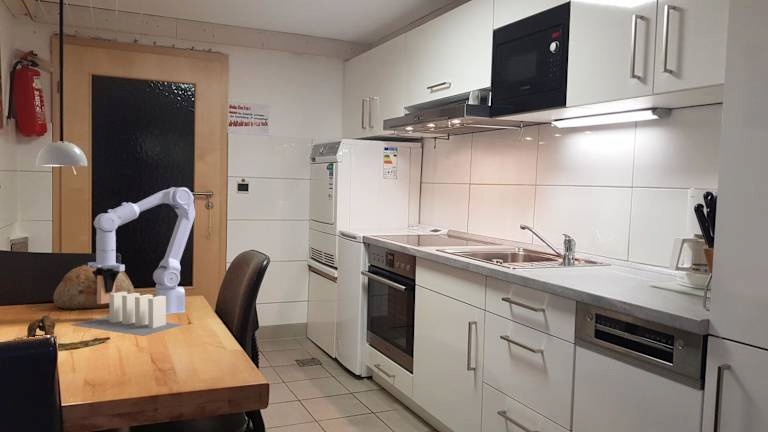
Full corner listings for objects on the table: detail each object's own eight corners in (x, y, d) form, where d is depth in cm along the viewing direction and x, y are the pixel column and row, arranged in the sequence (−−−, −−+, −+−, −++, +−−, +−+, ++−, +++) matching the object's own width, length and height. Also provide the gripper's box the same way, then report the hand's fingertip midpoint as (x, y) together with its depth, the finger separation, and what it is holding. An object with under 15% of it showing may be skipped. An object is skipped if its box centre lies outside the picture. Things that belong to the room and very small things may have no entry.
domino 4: (135, 325, 178) (134, 296, 177) (148, 322, 183) (148, 294, 182) (139, 326, 177) (139, 297, 177) (152, 322, 182) (152, 294, 181)
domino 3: (122, 323, 180) (122, 295, 180) (135, 320, 185) (135, 292, 184) (126, 324, 179) (126, 295, 179) (139, 321, 184) (139, 293, 184)
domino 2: (109, 321, 182) (109, 293, 182) (122, 318, 187) (122, 291, 187) (114, 322, 181) (114, 294, 181) (127, 319, 186) (127, 292, 186)
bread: (45, 312, 197) (45, 269, 196) (64, 300, 219) (64, 261, 219) (128, 310, 204) (128, 268, 203) (138, 298, 226) (138, 260, 226)
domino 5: (148, 327, 176) (148, 298, 175) (161, 323, 180) (161, 295, 180) (153, 328, 175) (153, 298, 174) (165, 324, 180) (165, 296, 179)
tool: (10, 339, 161) (11, 374, 136) (11, 317, 161) (12, 348, 136) (102, 332, 174) (118, 363, 149) (103, 312, 174) (119, 340, 149)
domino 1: (96, 303, 184) (97, 275, 184) (110, 301, 189) (111, 273, 189) (101, 303, 183) (101, 276, 183) (115, 301, 188) (115, 274, 188)
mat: (69, 326, 178) (69, 324, 178) (112, 316, 192) (112, 315, 192) (143, 337, 165) (143, 335, 165) (183, 326, 180) (183, 324, 180)
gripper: (79, 250, 185) (79, 291, 185) (111, 252, 179) (111, 295, 179) (98, 248, 191) (98, 288, 192) (130, 250, 185) (130, 292, 186)
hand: (106, 291), depth 186 cm, fingers closed on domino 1, 2 cm apart
